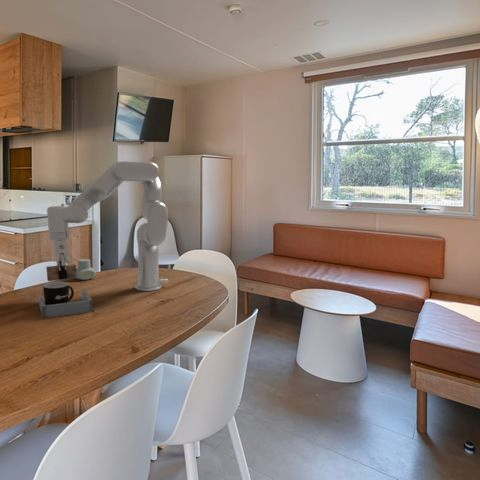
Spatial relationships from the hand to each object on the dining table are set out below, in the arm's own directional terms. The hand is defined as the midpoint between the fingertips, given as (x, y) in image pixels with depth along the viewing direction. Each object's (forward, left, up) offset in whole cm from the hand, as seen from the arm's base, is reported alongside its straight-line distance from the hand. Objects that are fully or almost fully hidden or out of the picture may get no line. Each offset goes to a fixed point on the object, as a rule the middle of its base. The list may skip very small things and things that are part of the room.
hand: (62, 277), depth 161 cm
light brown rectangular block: (0, 0, 0) cm, 0 cm away
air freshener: (-14, -31, -10) cm, 35 cm away
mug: (+3, +13, -10) cm, 17 cm away
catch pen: (+1, +13, -9) cm, 16 cm away
